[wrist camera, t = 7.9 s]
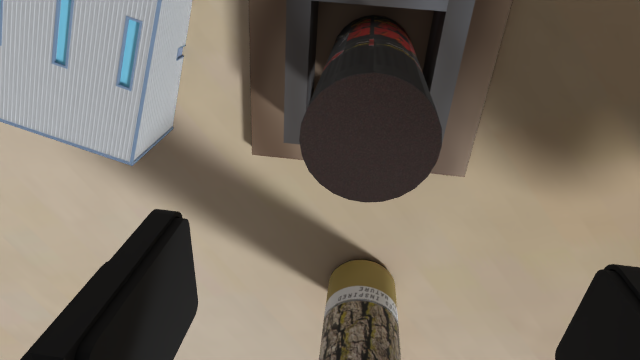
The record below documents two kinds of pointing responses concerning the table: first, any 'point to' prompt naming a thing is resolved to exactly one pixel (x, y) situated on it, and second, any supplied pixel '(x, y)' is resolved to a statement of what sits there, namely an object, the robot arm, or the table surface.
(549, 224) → the table surface
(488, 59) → the holder
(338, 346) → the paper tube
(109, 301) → the robot arm
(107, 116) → the warehouse
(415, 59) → the deodorant
